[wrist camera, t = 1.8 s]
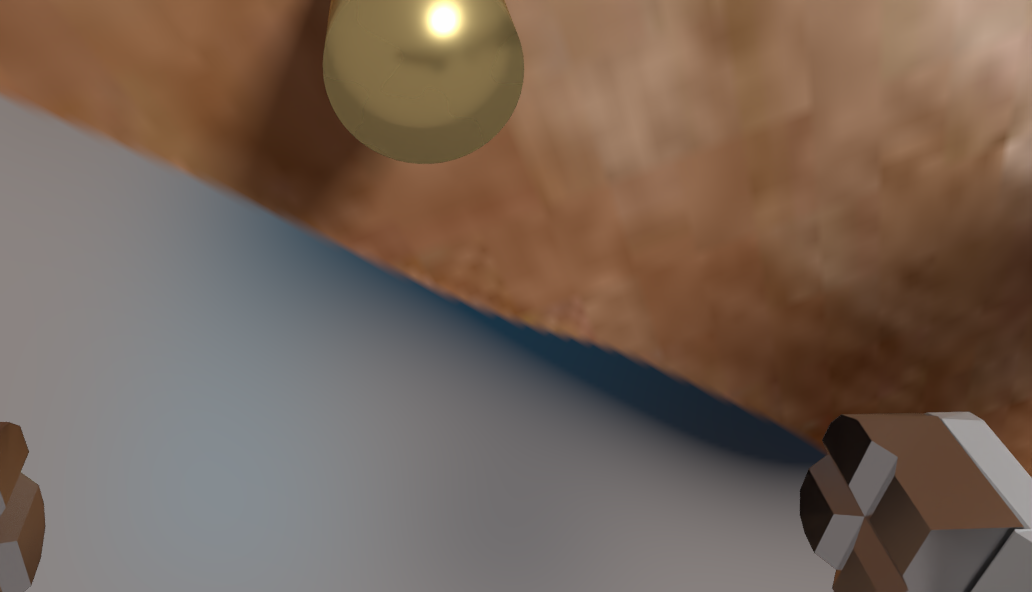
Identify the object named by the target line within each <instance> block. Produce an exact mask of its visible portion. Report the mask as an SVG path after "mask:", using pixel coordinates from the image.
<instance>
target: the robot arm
mask: <svg viewBox="0 0 1032 592" xmlns="http://www.w3.org/2000/svg"><path fill="white" fill-rule="evenodd" d="M822 441H823V443H824V445H825V448H826V450H827V452H828V455H826V456H825V457H824V458H822V459H821V460H820V461H818V462H817V463H816V464H814V465H813V466H812V467H811V468H809V470H808V472H807V474H806V477H805V479H804V482H803V484H802V487H801V489H800V516H801V521H802V524H803V528H804V532H805V534H806V537H807V539H808V541H809V543H810V545H811V547H812V549H813V551H814V553H815V554H817V555H818V556H819V557H820V558H822V559H823V560H824V561H826V562H827V563H828V564H830V565H831V566H832V567H833V568H835V569H836V573H835V577H834V583H833V587H832V588H833V590H834V592H1032V478H1031V477H1030V476H1029V474H1028V473H1027V472H1026V471H1025V470H1024V468H1023V467H1022V466H1021V465H1020V464H1019V462H1018V461H1017V460H1016V459H1015V458H1014V456H1013V455H1012V454H1011V453H1010V452H1009V450H1008V449H1007V448H1006V447H1005V446H1004V444H1003V443H1002V442H1001V441H1000V440H999V438H998V437H997V436H996V435H995V434H994V432H993V431H992V430H991V429H990V428H989V426H988V425H987V424H986V423H985V422H984V421H983V420H982V419H981V418H979V417H977V416H975V415H974V414H972V413H970V412H932V413H924V414H921V413H890V414H841V415H840V416H839V417H838V418H836V419H835V420H834V421H833V422H831V423H830V425H829V427H828V429H827V431H826V433H825V435H824V437H823V439H822ZM28 453H29V450H28V447H27V444H26V441H25V439H24V436H23V433H22V430H21V427H20V426H18V425H16V424H13V423H10V422H0V592H24V591H25V590H27V589H28V588H29V587H30V586H31V585H32V582H33V579H34V576H35V573H36V570H37V567H38V564H39V562H40V559H41V553H42V546H43V539H44V533H45V514H44V503H43V499H42V495H41V491H40V488H39V485H38V484H36V483H35V482H34V481H32V480H31V479H29V478H28V477H27V476H25V475H24V474H22V473H21V470H22V467H23V465H24V463H25V460H26V458H27V456H28Z"/></svg>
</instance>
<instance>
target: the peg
mask: <svg viewBox="0 0 1032 592" xmlns="http://www.w3.org/2000/svg"><path fill="white" fill-rule="evenodd" d="M323 77H324V83H325V88H326V92H327V95H328V98H329V101H330V103H331V106H332V107H333V109H334V111H335V113H336V115H337V117H338V118H339V119H340V121H341V122H342V124H343V125H344V126H345V127H346V129H347V130H348V131H349V132H350V133H351V134H352V135H353V136H354V137H355V138H356V139H358V140H359V141H360V142H361V143H362V144H364V145H366V146H367V147H369V148H370V149H372V150H373V151H375V152H377V153H379V154H381V155H383V156H386V157H389V158H392V159H395V160H399V161H403V162H408V163H417V164H433V163H441V162H446V161H450V160H454V159H457V158H460V157H463V156H465V155H468V154H470V153H472V152H473V151H475V150H477V149H479V148H480V147H482V146H483V145H485V144H486V143H488V142H489V141H490V140H491V139H492V138H493V137H494V136H495V135H497V133H498V132H499V131H500V130H501V129H502V128H503V127H504V125H505V124H506V123H507V121H508V120H509V118H510V117H511V115H512V113H513V111H514V109H515V107H516V105H517V102H518V100H519V97H520V94H521V89H522V85H523V77H524V60H523V52H522V48H521V43H520V40H519V37H518V35H517V32H516V29H515V27H514V24H513V21H512V19H511V16H510V14H509V11H508V9H507V6H506V3H505V1H504V0H331V2H330V9H329V17H328V24H327V32H326V39H325V47H324V54H323Z"/></svg>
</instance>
